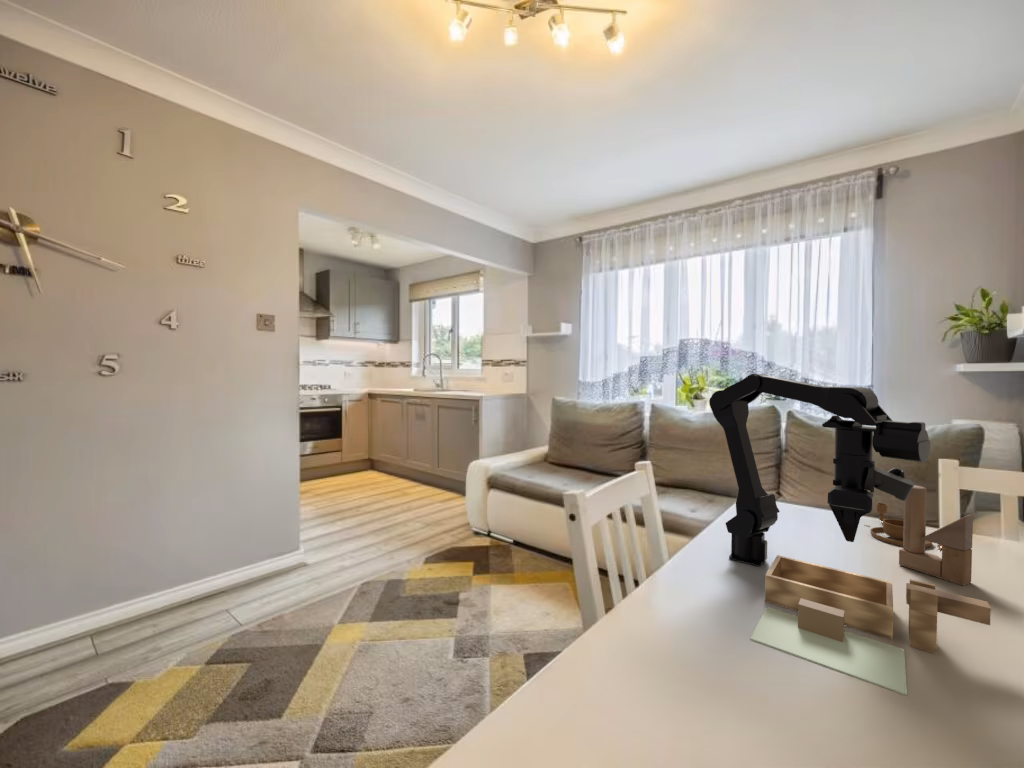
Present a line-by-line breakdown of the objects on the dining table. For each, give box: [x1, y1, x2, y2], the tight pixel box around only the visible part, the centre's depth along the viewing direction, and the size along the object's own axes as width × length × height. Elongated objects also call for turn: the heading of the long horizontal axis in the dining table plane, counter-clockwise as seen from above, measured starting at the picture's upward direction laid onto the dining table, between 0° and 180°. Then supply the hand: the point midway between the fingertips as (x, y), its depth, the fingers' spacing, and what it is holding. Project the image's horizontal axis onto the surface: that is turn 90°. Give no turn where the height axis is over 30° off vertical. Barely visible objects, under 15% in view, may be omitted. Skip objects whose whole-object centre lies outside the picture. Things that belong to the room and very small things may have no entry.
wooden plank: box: [905, 582, 992, 626], centre depth 67 cm, size 9×2×2 cm, turn 49°
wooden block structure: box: [898, 484, 974, 586], centre depth 93 cm, size 4×11×18 cm, turn 26°
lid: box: [750, 598, 908, 696], centre depth 68 cm, size 19×13×5 cm
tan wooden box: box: [764, 554, 938, 655], centre depth 78 cm, size 23×12×9 cm, turn 49°
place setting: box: [863, 502, 943, 551], centre depth 115 cm, size 18×20×6 cm
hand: (851, 534), depth 83 cm, fingers open, 9 cm apart
